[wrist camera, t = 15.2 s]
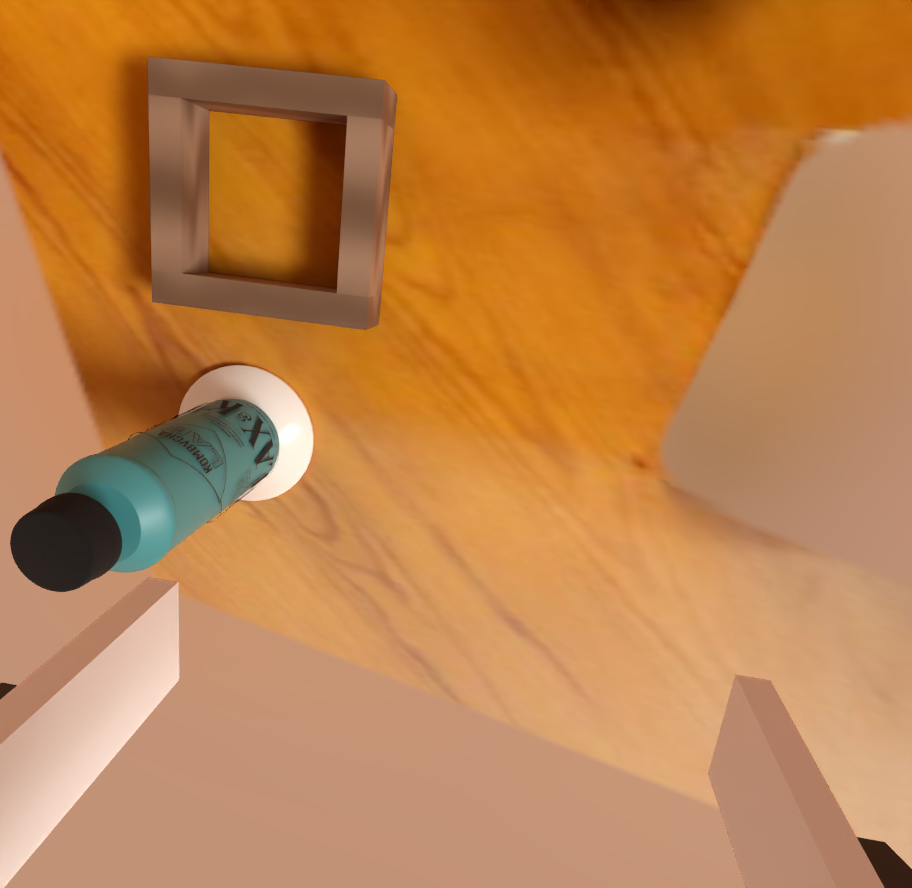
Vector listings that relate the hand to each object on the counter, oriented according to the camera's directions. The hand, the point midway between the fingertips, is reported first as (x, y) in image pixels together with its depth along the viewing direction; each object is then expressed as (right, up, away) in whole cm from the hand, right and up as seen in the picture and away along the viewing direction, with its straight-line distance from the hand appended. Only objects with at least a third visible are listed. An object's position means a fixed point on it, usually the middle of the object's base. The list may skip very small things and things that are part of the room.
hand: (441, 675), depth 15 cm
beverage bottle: (-15, +6, +32) cm, 36 cm away
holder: (-11, +21, +27) cm, 36 cm away
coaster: (-15, +6, +32) cm, 36 cm away
